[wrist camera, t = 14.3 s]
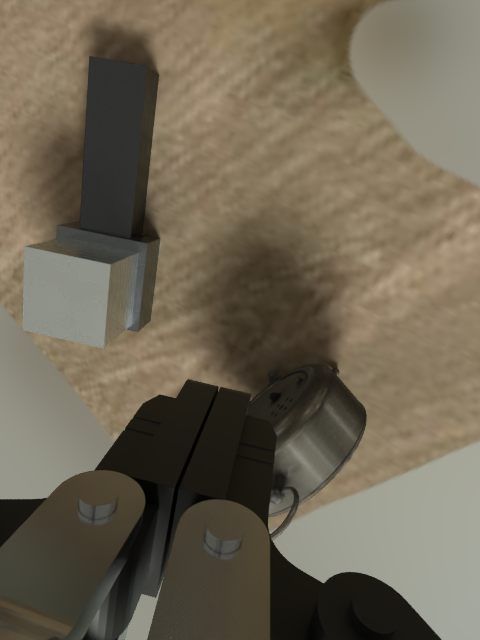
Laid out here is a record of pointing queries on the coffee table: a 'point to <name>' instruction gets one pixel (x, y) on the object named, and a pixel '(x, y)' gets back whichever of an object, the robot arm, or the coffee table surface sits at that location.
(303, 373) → the alarm clock
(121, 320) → the brushed grey cube
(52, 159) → the coffee table surface
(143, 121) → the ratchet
